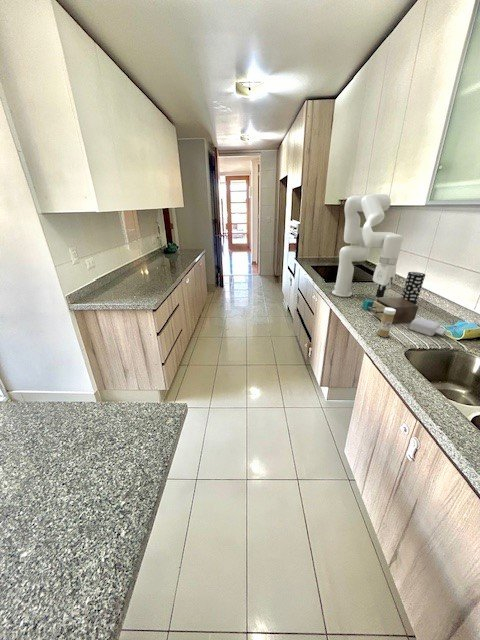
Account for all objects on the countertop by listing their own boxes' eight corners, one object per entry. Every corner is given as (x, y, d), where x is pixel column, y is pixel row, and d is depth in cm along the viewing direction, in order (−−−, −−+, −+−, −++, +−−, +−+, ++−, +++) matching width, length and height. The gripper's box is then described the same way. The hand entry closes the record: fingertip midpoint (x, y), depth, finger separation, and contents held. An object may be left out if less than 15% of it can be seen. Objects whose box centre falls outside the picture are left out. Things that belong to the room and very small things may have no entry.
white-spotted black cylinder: (403, 302, 161) (412, 271, 152) (417, 307, 154) (428, 274, 146) (396, 305, 157) (405, 273, 148) (410, 310, 150) (421, 276, 142)
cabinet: (388, 323, 133) (392, 307, 130) (373, 314, 145) (377, 298, 141) (413, 322, 136) (418, 306, 132) (396, 312, 147) (401, 297, 143)
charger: (444, 341, 117) (408, 329, 128) (451, 335, 122) (416, 324, 133) (448, 332, 115) (411, 321, 126) (454, 326, 120) (418, 316, 131)
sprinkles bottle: (381, 337, 120) (388, 311, 114) (375, 333, 124) (382, 307, 118) (390, 337, 120) (398, 310, 115) (384, 332, 124) (392, 306, 119)
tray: (375, 322, 133) (379, 309, 129) (362, 313, 143) (365, 301, 140) (407, 320, 135) (411, 307, 132) (392, 311, 145) (396, 299, 142)
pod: (362, 307, 153) (363, 299, 151) (368, 307, 154) (370, 299, 152) (366, 310, 150) (368, 302, 147) (372, 309, 150) (374, 301, 148)
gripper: (371, 258, 131) (364, 292, 139) (391, 264, 118) (382, 302, 125) (384, 257, 132) (376, 292, 140) (406, 264, 119) (396, 301, 127)
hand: (379, 296), depth 133 cm, fingers closed
